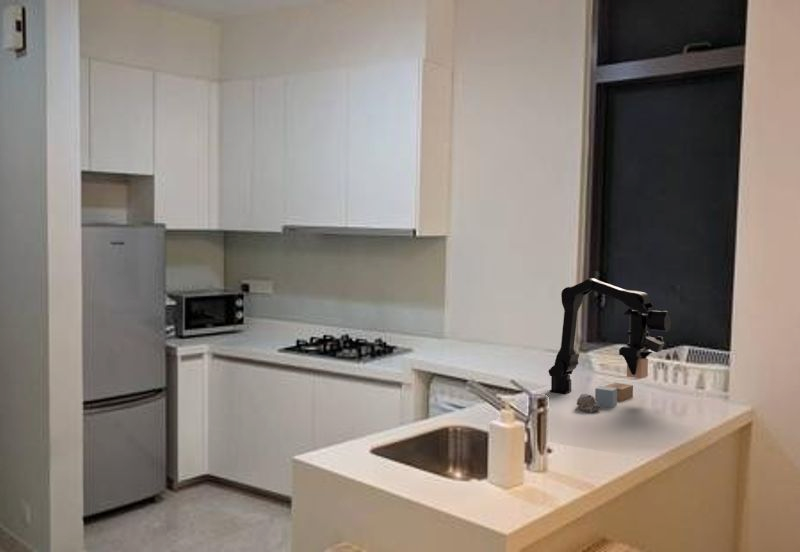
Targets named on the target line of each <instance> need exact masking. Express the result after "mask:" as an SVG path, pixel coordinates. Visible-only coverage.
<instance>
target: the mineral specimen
mask: <svg viewBox="0 0 800 552" xmlns="http://www.w3.org/2000/svg"><path fill="white" fill-rule="evenodd" d="M576 401H577V402H576V405H577V406H579V407H580V409H579V411H582V412H583V411H584V412H585V411H586V412H585V413H588V412H590V414H591V413H594V412H599V411H600V409H601V408H602V406H600V405H599V404H598V403H597V401H596V400H595V396H593V395H591V394H588V393H582V394H580V396H578V398H577V400H576Z"/></svg>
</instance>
